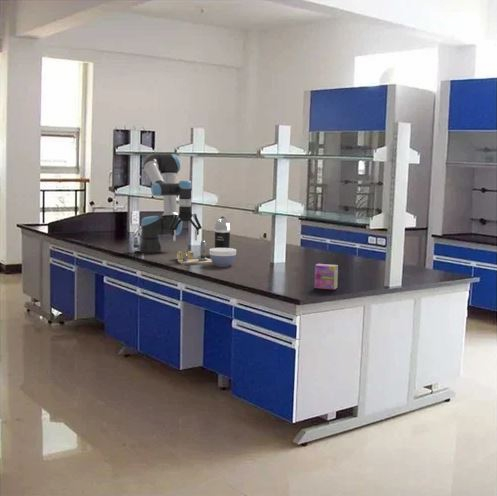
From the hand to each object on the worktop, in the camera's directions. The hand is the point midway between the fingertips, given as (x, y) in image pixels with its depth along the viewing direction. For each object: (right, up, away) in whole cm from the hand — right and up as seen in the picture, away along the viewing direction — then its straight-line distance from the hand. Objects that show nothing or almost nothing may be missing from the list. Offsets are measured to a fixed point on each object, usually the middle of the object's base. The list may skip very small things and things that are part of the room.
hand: (185, 240), depth 436 cm
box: (+78, -25, -79) cm, 114 cm away
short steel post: (+1, -12, -10) cm, 16 cm away
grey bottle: (+22, -9, +26) cm, 35 cm away
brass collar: (0, -12, +2) cm, 12 cm away
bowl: (+24, -15, -17) cm, 33 cm away
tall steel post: (+11, -12, -7) cm, 18 cm away
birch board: (+8, -13, -8) cm, 17 cm away
